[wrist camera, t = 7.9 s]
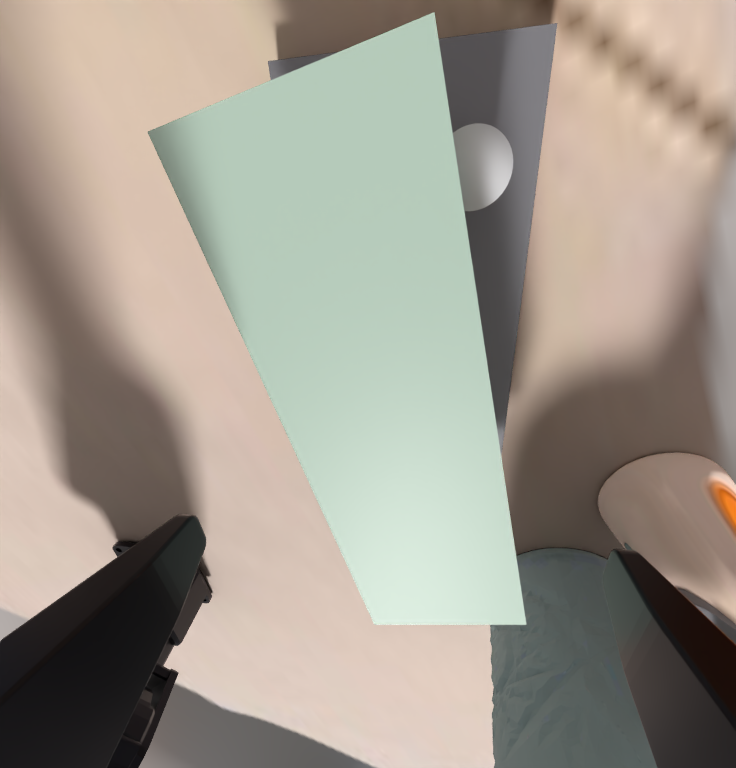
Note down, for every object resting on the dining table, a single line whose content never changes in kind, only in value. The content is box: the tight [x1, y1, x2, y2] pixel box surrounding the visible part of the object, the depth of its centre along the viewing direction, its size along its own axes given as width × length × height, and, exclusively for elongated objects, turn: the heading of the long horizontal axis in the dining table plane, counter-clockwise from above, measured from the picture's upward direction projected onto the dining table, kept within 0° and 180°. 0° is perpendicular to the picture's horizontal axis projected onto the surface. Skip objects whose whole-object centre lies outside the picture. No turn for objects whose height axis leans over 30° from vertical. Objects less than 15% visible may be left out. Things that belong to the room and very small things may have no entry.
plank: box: [148, 12, 526, 625], centre depth 13 cm, size 6×18×3 cm, turn 16°
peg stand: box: [268, 23, 557, 454], centre depth 16 cm, size 9×21×5 cm, turn 4°
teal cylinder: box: [490, 548, 657, 768], centre depth 20 cm, size 10×10×12 cm
